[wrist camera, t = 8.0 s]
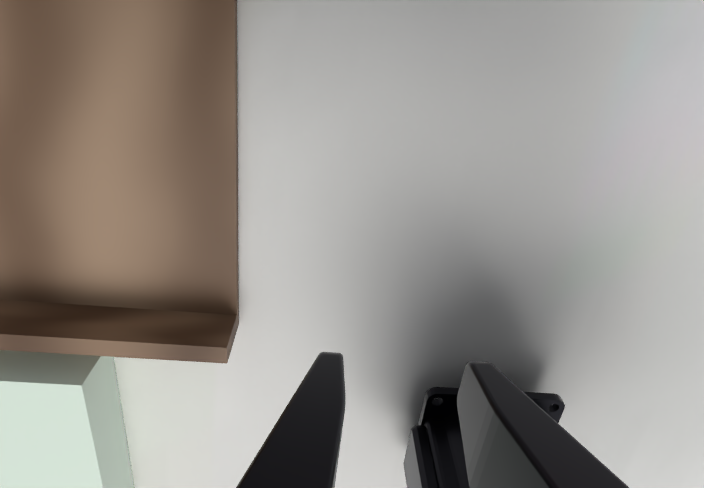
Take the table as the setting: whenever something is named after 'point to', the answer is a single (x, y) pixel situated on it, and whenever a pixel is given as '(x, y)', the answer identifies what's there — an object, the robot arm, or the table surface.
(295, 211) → the table surface
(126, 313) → the boss board
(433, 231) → the table surface
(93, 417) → the pale green rectangular block
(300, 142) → the table surface
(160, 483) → the table surface
